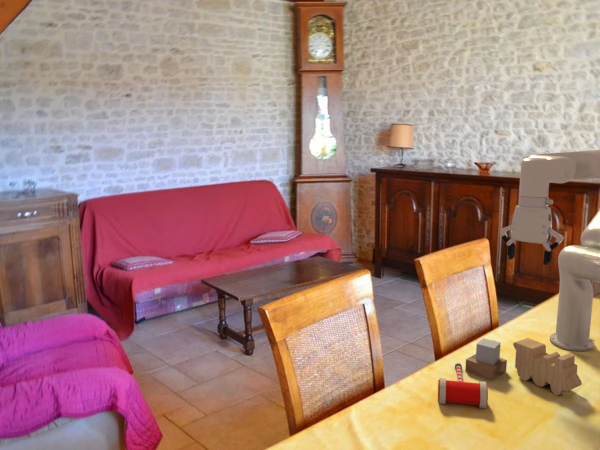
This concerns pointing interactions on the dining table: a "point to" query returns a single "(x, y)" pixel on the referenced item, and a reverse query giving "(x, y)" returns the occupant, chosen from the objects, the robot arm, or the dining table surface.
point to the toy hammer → (462, 391)
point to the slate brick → (488, 351)
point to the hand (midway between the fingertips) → (528, 261)
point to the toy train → (546, 366)
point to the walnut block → (485, 368)
